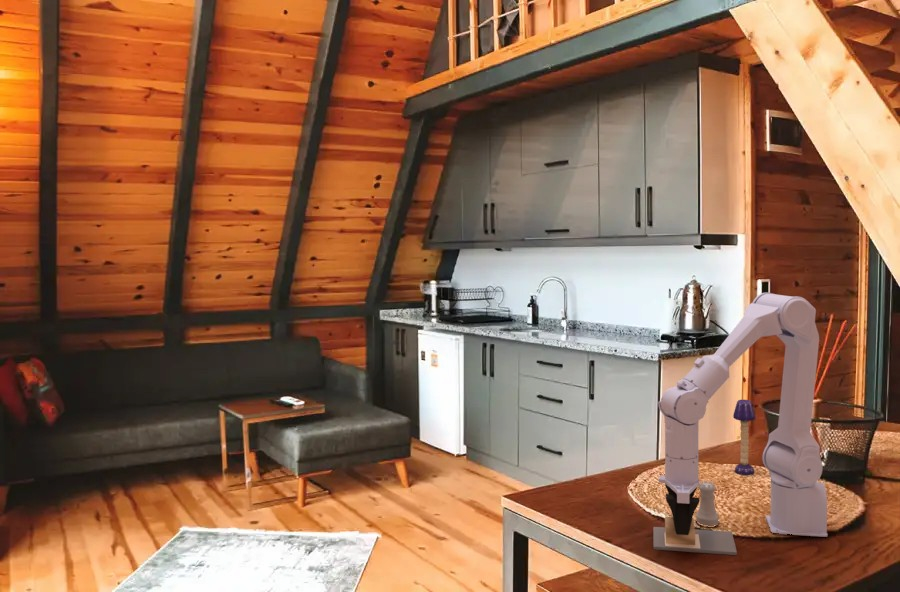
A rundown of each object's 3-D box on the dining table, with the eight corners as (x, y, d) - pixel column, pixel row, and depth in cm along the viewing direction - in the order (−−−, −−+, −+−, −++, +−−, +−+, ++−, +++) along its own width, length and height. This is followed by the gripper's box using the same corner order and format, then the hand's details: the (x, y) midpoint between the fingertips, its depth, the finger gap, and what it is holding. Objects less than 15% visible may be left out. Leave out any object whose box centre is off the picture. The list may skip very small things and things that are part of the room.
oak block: (693, 533, 143) (693, 518, 143) (695, 545, 138) (695, 528, 138) (665, 532, 144) (664, 516, 144) (666, 543, 139) (665, 527, 139)
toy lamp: (758, 475, 174) (758, 402, 173) (737, 476, 174) (737, 403, 173) (750, 468, 179) (750, 397, 177) (730, 469, 179) (730, 398, 177)
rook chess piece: (721, 528, 146) (721, 487, 145) (696, 527, 147) (696, 486, 146) (717, 519, 151) (717, 479, 150) (693, 518, 151) (693, 478, 151)
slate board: (731, 534, 144) (731, 531, 143) (736, 555, 135) (736, 551, 135) (653, 529, 147) (653, 526, 147) (653, 549, 138) (653, 546, 138)
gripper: (658, 442, 147) (658, 511, 148) (658, 466, 133) (659, 542, 134) (697, 443, 145) (697, 514, 146) (702, 468, 131) (702, 545, 132)
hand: (681, 528), depth 140 cm, fingers open, 5 cm apart
